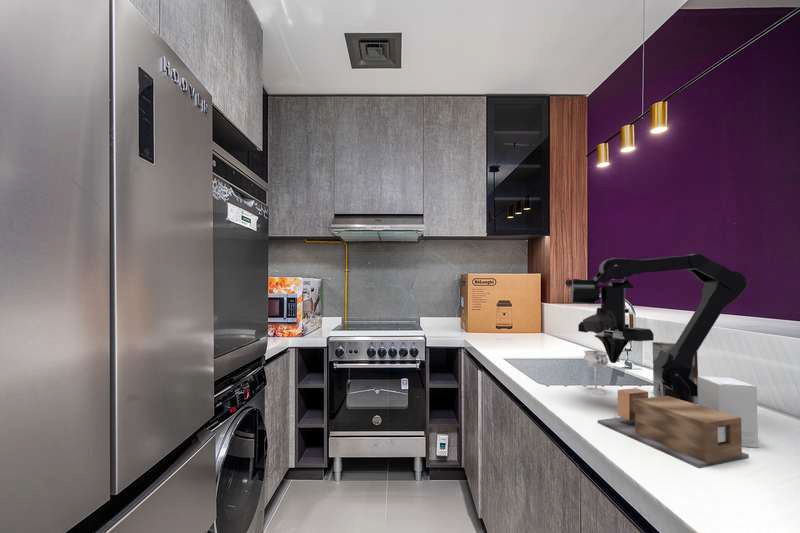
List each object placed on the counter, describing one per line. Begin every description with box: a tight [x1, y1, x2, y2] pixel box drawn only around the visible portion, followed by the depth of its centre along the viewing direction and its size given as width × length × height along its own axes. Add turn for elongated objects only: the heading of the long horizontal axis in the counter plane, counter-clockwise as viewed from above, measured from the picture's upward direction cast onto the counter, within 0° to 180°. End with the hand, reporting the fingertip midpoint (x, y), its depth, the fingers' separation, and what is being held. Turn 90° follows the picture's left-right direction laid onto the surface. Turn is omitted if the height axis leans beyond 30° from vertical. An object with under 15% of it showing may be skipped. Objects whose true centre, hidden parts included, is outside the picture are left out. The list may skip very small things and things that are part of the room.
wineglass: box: [583, 350, 610, 395], centre depth 113 cm, size 7×7×12 cm
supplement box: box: [697, 375, 759, 449], centre depth 79 cm, size 7×7×13 cm
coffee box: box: [652, 341, 699, 405], centre depth 107 cm, size 9×6×16 cm
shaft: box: [617, 387, 726, 443], centre depth 78 cm, size 20×6×6 cm, turn 19°
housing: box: [597, 396, 750, 469], centre depth 79 cm, size 22×14×8 cm, turn 19°
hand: (613, 362), depth 98 cm, fingers closed
